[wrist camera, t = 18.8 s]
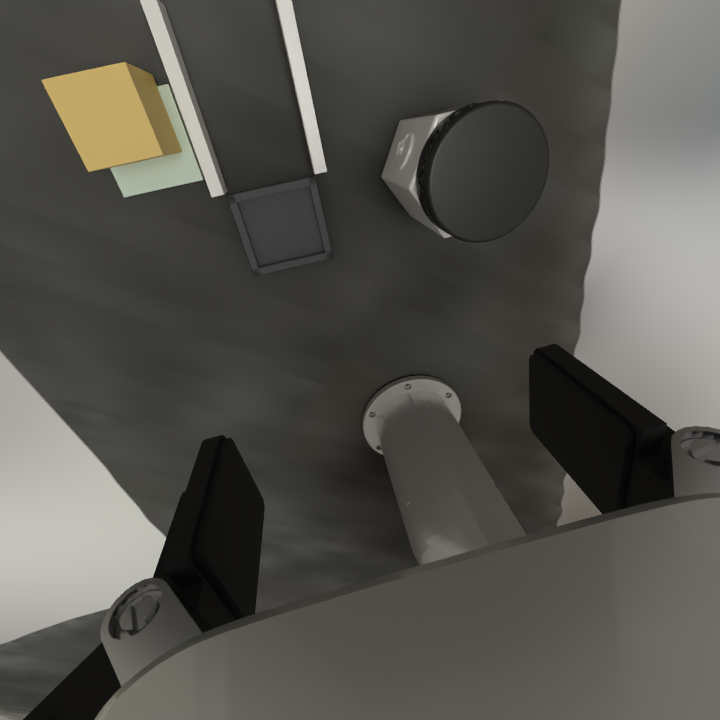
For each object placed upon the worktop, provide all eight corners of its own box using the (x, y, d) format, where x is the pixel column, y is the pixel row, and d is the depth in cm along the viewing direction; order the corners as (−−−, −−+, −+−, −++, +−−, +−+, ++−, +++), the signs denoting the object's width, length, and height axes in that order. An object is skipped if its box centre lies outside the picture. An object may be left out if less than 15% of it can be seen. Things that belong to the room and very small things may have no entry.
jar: (406, 89, 31) (465, 65, 21) (490, 127, 33) (579, 123, 23) (369, 201, 35) (404, 228, 25) (447, 229, 37) (507, 263, 27)
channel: (324, 169, 33) (327, 171, 31) (216, 193, 33) (211, 197, 31) (285, -19, 27) (285, -30, 25) (150, 8, 26) (139, -1, 24)
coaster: (204, 179, 32) (203, 179, 31) (126, 196, 32) (124, 197, 31) (170, 85, 28) (168, 84, 28) (82, 103, 28) (78, 102, 28)
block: (182, 151, 30) (163, 154, 25) (119, 166, 30) (88, 171, 25) (152, 74, 28) (124, 61, 23) (83, 89, 27) (41, 79, 23)
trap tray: (331, 254, 37) (333, 257, 36) (255, 272, 36) (254, 276, 35) (314, 175, 33) (314, 176, 32) (228, 194, 33) (226, 196, 32)
